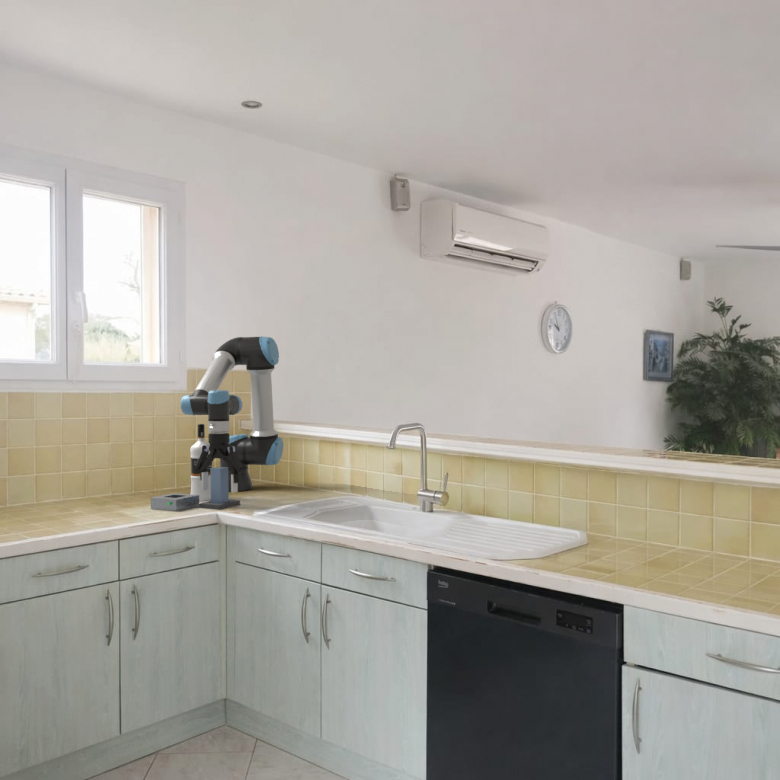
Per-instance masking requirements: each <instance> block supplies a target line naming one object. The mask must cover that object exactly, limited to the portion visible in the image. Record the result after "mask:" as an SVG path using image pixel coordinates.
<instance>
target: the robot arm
mask: <svg viewBox="0 0 780 780" xmlns="http://www.w3.org/2000/svg"><path fill="white" fill-rule="evenodd" d="M279 358H280V353H279V347H278V344H277V342H276V341H275V339H274V338H273V337H270V336H236V337H235V338H234V337H233V338H232V339H229V340H227V341H225V342H224V343H222V345H220V346H219V347H218V348H217V349H216V350H215V352H214V354H213V355H212V358H211V359H212V362H211V363H210V365H209V367H208V368H207V370H206V372H205V373H204V374H203V377H202V378H201V380H200V381H199V382H198V384H197V386H196V388H195V389H194V390H193V392H192V394H186V395H184V396H182V397H181V399H180V410H181V412H182V413H183V414H184V415H188V416H208V419H207V420H208V423H207V425H208V427H207V428H208V429H207V430H208V437H207V438H208V442H207V443H208V444H210V446H209V445H204V446H202V453H201V455H200V458H199V460H198V463H197V466H196V470H198V471H200V480H201V481H202V490H208V472H205V471H207V469H208V467H209V466H210V464H211V463H212V464H213V462H214V460H215V459H219V467H228V489H229V492H230V493H237V492H245V491H250V490H252V489H253V482H252V479H251V476H250V472H249V465H250V466H256V465H257V466H275V465H277V464H279V463H280V460H281V458H282V455H283V452H284V440H283V438H282V437H280V436H279V434H278V433H279V432H278V431H277V430H276V429H275V428H274V427H275V425H274V423H275V422H274V407H273V406H274V404H273V402H274V401H273V386H272V385H273V384H272V372H273V371H274V370H275V366H276V365H278V363H279V360H280V359H279ZM236 366H245V367H246V369H245V370H246V371H247V373H249V375H250V376H249V377H250V392H251V409H252V410H251V411H252V427H253V428H252V429H253V430H252V431H251V432H250V434H249V435H248V434H247V433H240V434H234V435H230V433H229V432H230V430H231V429H230V416H234V415H238V414H239V413H240V412H241V410H242V408H243V400H242V399H241V398H240V396H238V395H235V394H230V392H229V391H228V390H226V389H225V390H224V389H222V390H221V389H219V388H220V386H221V385H222V383H224V380H225V378H226V377H227V375H228V373H229V372H230V371H231V370H233V369H234V368H235V367H236ZM209 451H210V454H209V455H208V453H209ZM207 455H208V458H207ZM206 458H207V459H206Z"/></svg>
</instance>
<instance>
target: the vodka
mask: <svg viewBox="0 0 780 780" xmlns="http://www.w3.org/2000/svg"><path fill="white" fill-rule="evenodd" d="M205 429H206V428H205V424H204V423H199V424H197V441H196V442H195V443H194V444H193V445H191V447H190V449H189V451H190V456H189V457H190V483H191V484H190V494H192V495H199V502H209V501H211V473H210V468H213V462H212V463H211V464H210V466H209V467H208V469H207V471H205V472H208V490H202V481H201V480H200V471H198V470H196V466H197V463H198V460H199V458H200V455H201V453H202V446H204V445H209V446H210V444H209V442H207V441H206V439H205V433H206V431H205ZM209 454H210V451H209V453H208V455H209ZM208 455H207V458H208ZM207 458H206V459H207Z"/></svg>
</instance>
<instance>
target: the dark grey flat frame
mask: <svg viewBox="0 0 780 780" xmlns="http://www.w3.org/2000/svg"><path fill="white" fill-rule="evenodd" d="M240 505H241V500H238V499H229V502H226V503H221V504H219V503H211V500H209V501H203V502H201V503H200V502H199V506H198V509H206V510H207V509H210V510H217V511H218V510H219V511H220V510H223V509H228V508H232V507H236V506H240Z"/></svg>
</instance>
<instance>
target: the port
mask: <svg viewBox="0 0 780 780" xmlns="http://www.w3.org/2000/svg"><path fill="white" fill-rule="evenodd" d="M199 504H200V501H199V495H192V494H189V493H179V492H173V493H168V494H162V495H157V496H152V497H150V509H151V510H161V511H168V512H169V511H170V512H179V511H184V510H187V509H194V508H196V507H198V508H199Z"/></svg>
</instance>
